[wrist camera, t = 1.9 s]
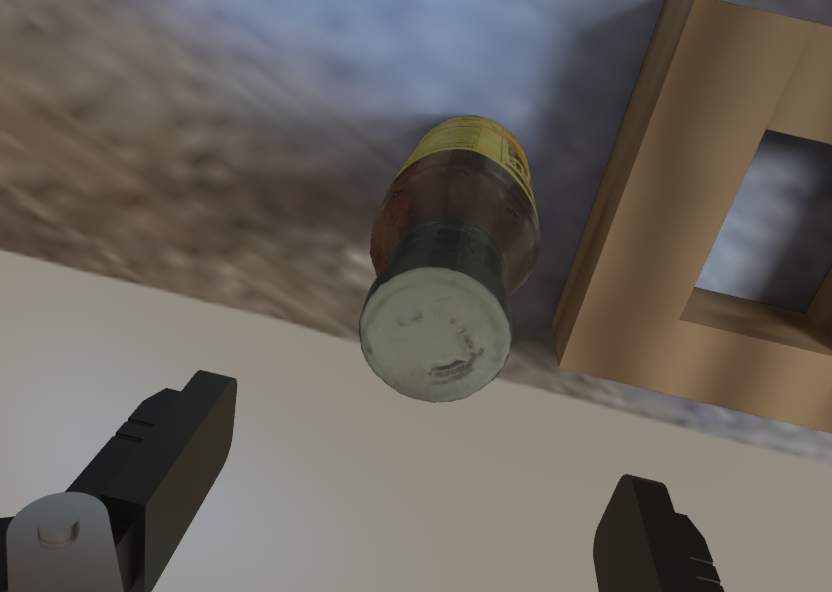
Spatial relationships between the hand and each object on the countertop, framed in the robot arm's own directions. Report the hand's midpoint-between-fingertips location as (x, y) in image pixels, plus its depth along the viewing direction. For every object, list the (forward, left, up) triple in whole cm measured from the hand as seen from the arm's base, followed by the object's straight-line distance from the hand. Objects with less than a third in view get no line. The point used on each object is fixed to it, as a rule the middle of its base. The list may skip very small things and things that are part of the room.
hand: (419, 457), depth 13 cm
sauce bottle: (0, 0, -24) cm, 24 cm away
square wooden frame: (-16, -1, -24) cm, 29 cm away
